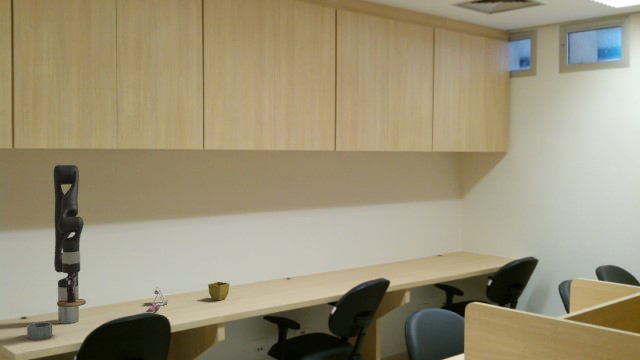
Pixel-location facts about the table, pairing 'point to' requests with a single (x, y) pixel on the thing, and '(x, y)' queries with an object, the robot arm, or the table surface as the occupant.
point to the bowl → (39, 330)
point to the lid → (71, 302)
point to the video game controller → (153, 308)
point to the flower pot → (218, 290)
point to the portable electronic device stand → (160, 295)
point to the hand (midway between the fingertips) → (71, 299)
